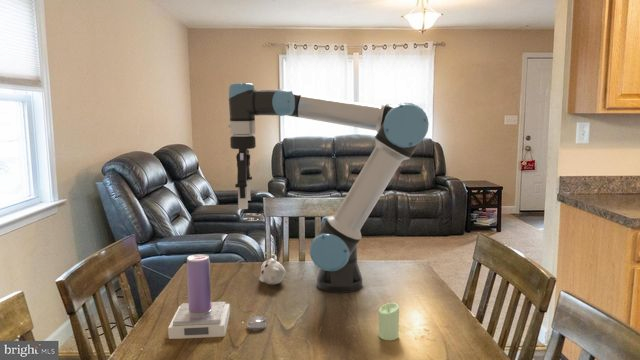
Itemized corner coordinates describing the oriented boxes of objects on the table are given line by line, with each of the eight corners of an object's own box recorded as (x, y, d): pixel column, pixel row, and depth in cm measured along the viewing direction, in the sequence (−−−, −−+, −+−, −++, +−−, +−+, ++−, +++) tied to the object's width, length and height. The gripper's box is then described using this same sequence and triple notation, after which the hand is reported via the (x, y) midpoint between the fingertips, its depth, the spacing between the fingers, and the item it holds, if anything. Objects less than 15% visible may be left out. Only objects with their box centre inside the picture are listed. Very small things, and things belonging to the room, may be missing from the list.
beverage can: (206, 316, 125) (203, 261, 123) (184, 314, 127) (182, 260, 125) (215, 307, 131) (213, 254, 129) (195, 306, 132) (192, 253, 130)
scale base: (230, 313, 137) (229, 303, 137) (224, 336, 123) (224, 325, 123) (179, 315, 136) (179, 305, 136) (168, 339, 122) (167, 328, 122)
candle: (385, 342, 120) (385, 310, 119) (375, 333, 124) (375, 303, 123) (402, 338, 122) (402, 307, 121) (391, 330, 126) (392, 300, 125)
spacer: (266, 322, 132) (266, 315, 131) (266, 331, 127) (265, 323, 126) (247, 323, 131) (247, 316, 131) (246, 332, 126) (246, 324, 126)
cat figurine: (267, 248, 169) (271, 256, 154) (287, 259, 170) (293, 267, 156) (254, 272, 168) (256, 282, 154) (274, 283, 170) (278, 293, 155)
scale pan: (225, 304, 136) (225, 301, 136) (220, 323, 124) (220, 319, 124) (182, 306, 135) (182, 303, 134) (173, 325, 123) (172, 321, 123)
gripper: (233, 133, 157) (236, 197, 160) (225, 137, 133) (228, 213, 136) (257, 133, 158) (258, 197, 161) (253, 137, 133) (255, 212, 136)
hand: (244, 204), depth 148 cm, fingers open, 13 cm apart
